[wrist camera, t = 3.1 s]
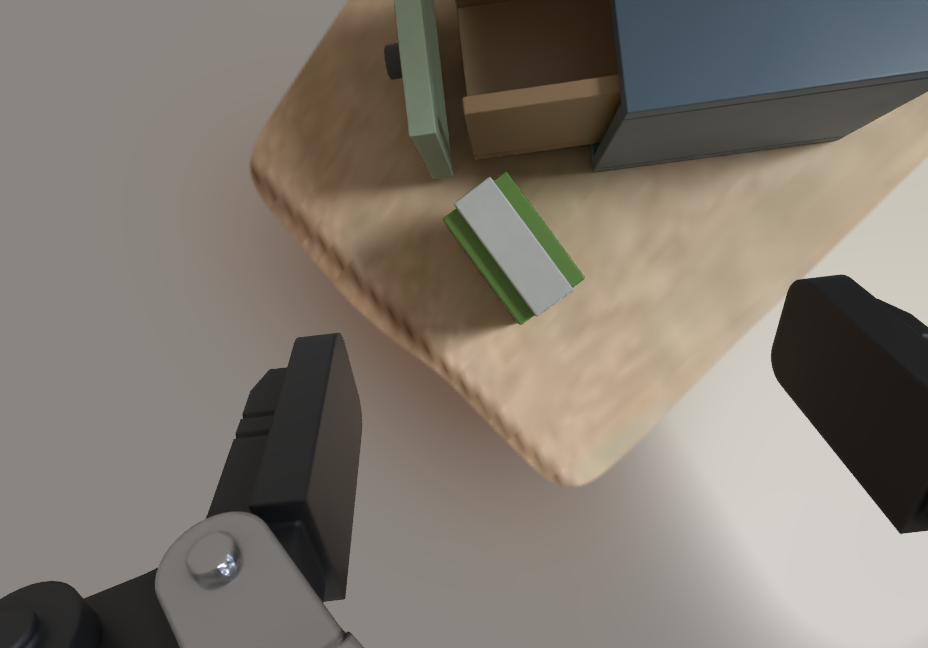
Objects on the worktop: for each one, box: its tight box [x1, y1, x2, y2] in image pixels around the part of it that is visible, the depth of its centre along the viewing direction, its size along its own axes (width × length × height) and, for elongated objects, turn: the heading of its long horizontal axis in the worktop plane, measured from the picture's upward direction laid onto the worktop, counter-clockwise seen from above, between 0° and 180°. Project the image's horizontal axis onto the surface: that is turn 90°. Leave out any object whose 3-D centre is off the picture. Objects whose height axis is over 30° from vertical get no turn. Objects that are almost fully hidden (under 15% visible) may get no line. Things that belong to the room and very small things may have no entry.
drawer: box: [384, 0, 622, 179], centre depth 28 cm, size 14×10×8 cm
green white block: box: [443, 172, 585, 325], centre depth 29 cm, size 4×6×8 cm, turn 36°
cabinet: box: [590, 0, 928, 172], centre depth 28 cm, size 14×12×10 cm
